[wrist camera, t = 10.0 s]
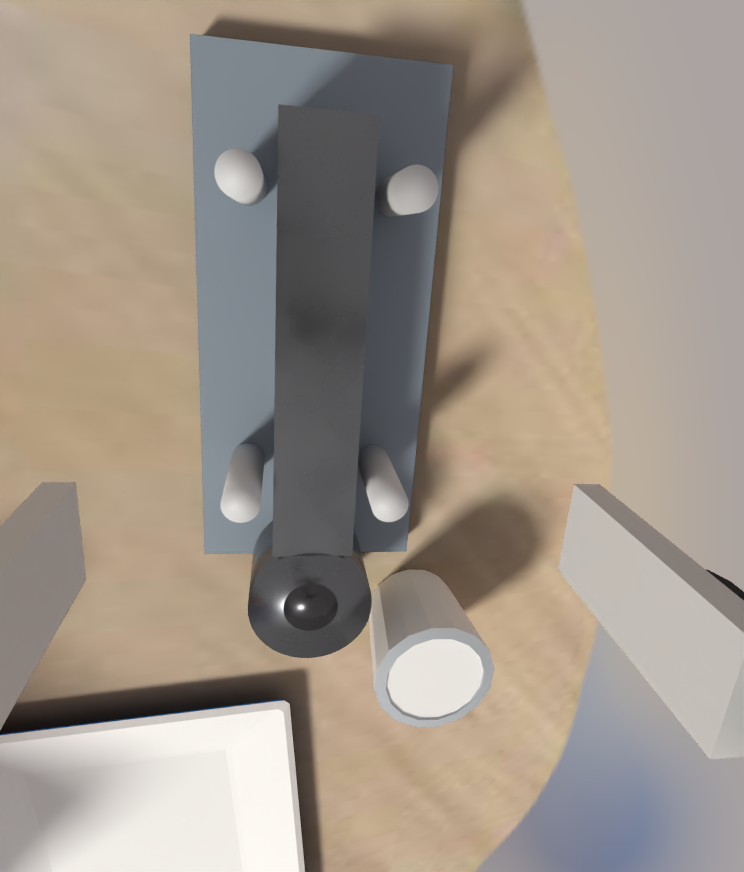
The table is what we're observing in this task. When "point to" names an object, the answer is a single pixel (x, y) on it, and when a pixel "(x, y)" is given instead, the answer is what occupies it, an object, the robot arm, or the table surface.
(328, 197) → the dark grey bar
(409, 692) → the white cup
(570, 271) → the table surface
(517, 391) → the table surface
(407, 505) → the peg rack
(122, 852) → the plate
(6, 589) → the robot arm
